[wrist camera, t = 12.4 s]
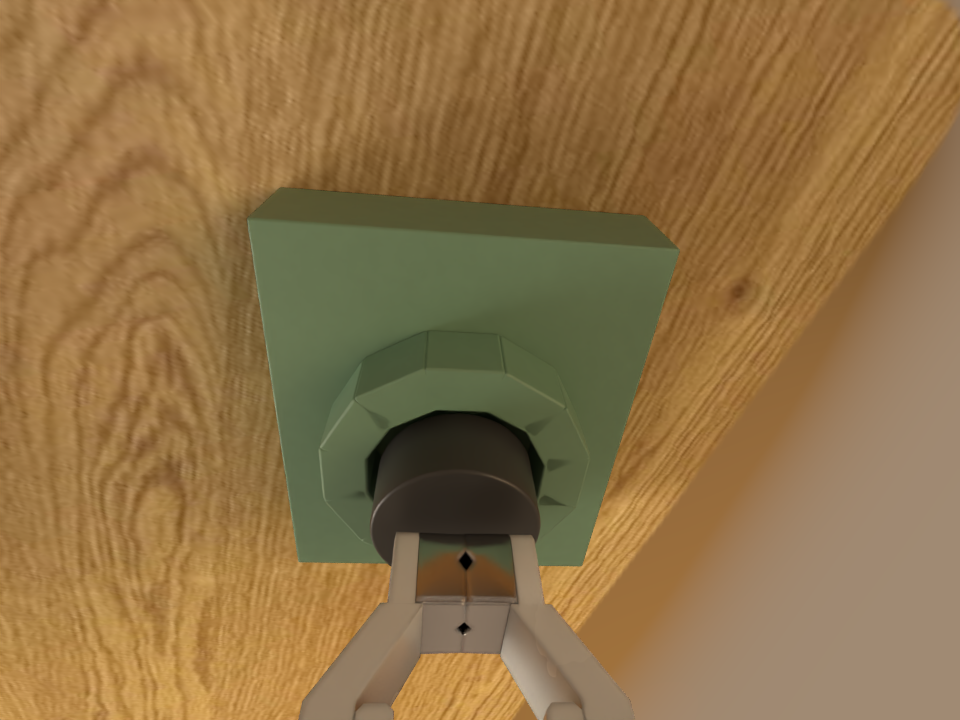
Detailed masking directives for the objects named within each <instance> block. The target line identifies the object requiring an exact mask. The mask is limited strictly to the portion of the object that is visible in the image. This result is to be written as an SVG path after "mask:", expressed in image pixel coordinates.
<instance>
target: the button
mask: <svg viewBox="0 0 960 720" xmlns="http://www.w3.org/2000/svg"><path fill="white" fill-rule="evenodd" d="M540 527H541V522H540V513H539V508H538V503H537V497H536V492H535V487H534V481H533V476H532V470H531V465H530V460H529V456H528V453H527V451H526V449H525V447H524V446H523V444H522V443H521V441H520V440H519V439H518V438H517V437H516V436H515V435H514V434H513V433H512V432H511V431H510V430H508V429H507V428H506V427H504V426H502V425H501V424H499V423H497V422H495V421H493V420H490V419H487V418H484V417H481V416H476V415H471V414H461V413H460V414H442V415H436V416H432V417H428V418H425V419H422V420H419V421H417V422H415V423H413V424H411V425H409V426H408V427H406V428H404V429H403V430H402V431H400V432H399V433H398V434H397V435H396V436H395V437H394V438H393V439H392V440H391V441H390V442H389V444H388V445H387V447H386V448H385V450H384V452H383V454H382V456H381V460H380V463H379V469H378V475H377V482H376V488H375V494H374V500H373V506H372V512H371V519H370V536H371V539H372V542H373V545H374V547H375V549H376V551H377V552H378V554H379V555H380V556H381V558H382V559H383V560H384V561H385V562H386V563H387V564H389V565H390V566H392V557H393V548H394V539H395V535H396V532H419V533H441V534H461V535H464V534H508V535H532V537H533V538H534V541H535V544H536V542H537V539H538V536H539V533H540ZM419 540H420V535H419Z"/></svg>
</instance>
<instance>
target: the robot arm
mask: <svg viewBox="0 0 960 720" xmlns="http://www.w3.org/2000/svg"><path fill="white" fill-rule="evenodd" d="M419 535H420V540H419ZM460 652H461V653H482V654H500V657H501V658H502V660H503V662H504V664H505V665H506V667H507V669H508V670H509V672H510V674H511V675H512V677H513V679H514V680H515V682H516V684H517V685H518V687H519V689H520V690H521V692H522V694H523V695H524V697H525V699H526V701H527V702H528V704H529V705H530V707H531V709H532V711H533V712H534V714H535V716H536V717H537V719H538V720H635V717H634V713H633V709H632V705H631V701H630V699H629V698H628V697H627V696H626V694H625V693H624V692H623V691H622V690H621V688H620V687H619V686H618V685H617V683H616V682H615V681H614V680H613V679H612V678H611V676H610V675H609V674H608V673H607V671H606V670H605V669H604V668H603V667H602V665H601V664H600V663H599V662H598V660H597V659H596V658H595V657H594V656H593V654H592V653H591V652H590V651H589V649H588V648H587V647H586V646H585V645H584V644H583V642H582V641H581V640H580V639H579V638H578V636H577V635H576V634H575V632H574V631H573V630H572V629H571V628H570V626H569V625H568V624H567V623H566V622H565V620H564V619H563V618H562V617H561V615H560V614H559V613H558V612H557V611H556V609H555V608H554V607H553V606H552V605H549V604H545V603H544V597H543V591H542V584H541V578H540V572H539V566H538V560H537V554H536V548H535V541H534V538H533V537H532V535H508V534H464V535H461V534H441V533H419V532H396V535H395V539H394V548H393V557H392V566H391V575H390V584H389V593H388V602H387V603H380V604H379V605H378V607H377V608H376V609H375V610H374V612H373V613H372V614H371V615H370V617H369V618H368V619H367V620H366V622H365V623H364V624H363V626H362V627H361V628H360V629H359V631H358V632H357V633H356V634H355V636H354V637H353V638H352V639H351V641H350V642H349V643H348V644H347V646H346V647H345V648H344V649H343V651H342V652H341V653H340V655H339V656H338V657H337V658H336V660H335V661H334V662H333V663H332V665H331V666H330V667H329V668H328V670H327V671H326V672H325V673H324V675H323V676H322V677H321V679H320V680H319V681H318V682H317V684H316V685H315V686H314V687H313V689H312V690H311V691H310V692H309V694H308V695H307V696H306V697H305V699H304V700H303V702H302V706H301V710H300V715H299V719H298V720H394V711H393V710H392V709H391V705H392V704H393V702H394V700H395V699H396V697H397V695H398V694H399V692H400V690H401V689H402V687H403V685H404V683H405V682H406V680H407V678H408V677H409V675H410V673H411V672H412V670H413V668H414V667H415V665H416V663H417V662H418V660H419V658H420V654H437V653H460Z"/></svg>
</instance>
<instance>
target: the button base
mask: <svg viewBox="0 0 960 720" xmlns="http://www.w3.org/2000/svg"><path fill="white" fill-rule="evenodd" d="M247 224H248V231H249V237H250V244H251V250H252V257H253V264H254V270H255V277H256V284H257V290H258V297H259V303H260V310H261V317H262V323H263V330H264V337H265V343H266V350H267V356H268V363H269V370H270V376H271V383H272V390H273V396H274V403H275V409H276V416H277V423H278V429H279V436H280V443H281V449H282V456H283V462H284V469H285V476H286V482H287V489H288V496H289V502H290V509H291V515H292V522H293V529H294V535H295V542H296V549H297V555H298V561H299V562H321V563H386V562H385V561H384V560H383V559H382V558H381V556H380V555H379V554H378V552H377V551H376V549H375V547H374V545H373V542H372V539H371V536H370V519H371V512H372V506H373V500H374V494H375V488H376V482H377V475H378V469H379V463H380V460H381V456H382V454H383V452H384V450H385V448H386V447H387V445H388V444H389V442H390V441H391V440H392V439H393V438H394V437H395V436H396V435H397V434H398V433H399V432H400V431H402V430H403V429H404V428H406V427H408V426H409V425H411V424H413V423H415V422H417V421H419V420H422V419H425V418H428V417H432V416H436V415H442V414H460V413H461V414H471V415H476V416H481V417H484V418H487V419H490V420H493V421H495V422H497V423H499V424H501V425H502V426H504V427H506V428H507V429H508V430H510V431H511V432H512V433H513V434H514V435H515V436H516V437H517V438H518V439H519V440H520V441H521V443H522V444H523V446H524V447H525V449H526V451H527V453H528V456H529V460H530V465H531V470H532V476H533V481H534V487H535V492H536V497H537V503H538V508H539V513H540V522H541V527H540V533H539V536H538V539H537V542H536V544H535V548H536V554H537V560H538V566H582V564H583V561H584V558H585V555H586V551H587V548H588V545H589V542H590V538H591V535H592V532H593V529H594V526H595V522H596V519H597V516H598V513H599V510H600V506H601V503H602V500H603V497H604V493H605V490H606V487H607V484H608V481H609V477H610V474H611V471H612V468H613V464H614V461H615V458H616V455H617V452H618V448H619V445H620V442H621V439H622V435H623V432H624V429H625V426H626V423H627V419H628V416H629V413H630V410H631V407H632V403H633V400H634V397H635V394H636V390H637V387H638V384H639V381H640V378H641V374H642V371H643V368H644V365H645V361H646V358H647V355H648V352H649V349H650V345H651V342H652V339H653V336H654V332H655V329H656V326H657V323H658V320H659V316H660V313H661V310H662V307H663V304H664V300H665V297H666V294H667V291H668V287H669V284H670V281H671V278H672V275H673V271H674V268H675V265H676V262H677V258H678V255H679V252H680V250H679V248H678V247H677V246H676V245H675V244H674V243H673V242H671V241H670V240H669V239H668V238H667V237H666V236H665V235H664V234H663V233H662V232H661V231H660V230H659V229H658V228H657V227H656V226H655V225H654V224H653V223H652V222H651V221H649V220H648V219H647V218H646V217H645V216H642V215H629V214H616V213H604V212H591V211H578V210H565V209H552V208H540V207H527V206H514V205H501V204H489V203H476V202H463V201H450V200H437V199H425V198H412V197H399V196H386V195H373V194H361V193H348V192H335V191H322V190H310V189H297V188H284V187H281V188H279V189H278V190H277V191H276V192H275V193H274V194H273V195H271V196H270V197H269V198H268V199H267V200H266V201H265V202H264V203H263V204H262V205H261V206H260V207H259V208H257V209H256V210H255V211H254V212H253V213H252V214H251V215H250V216H249V217H248V218H247Z"/></svg>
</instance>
